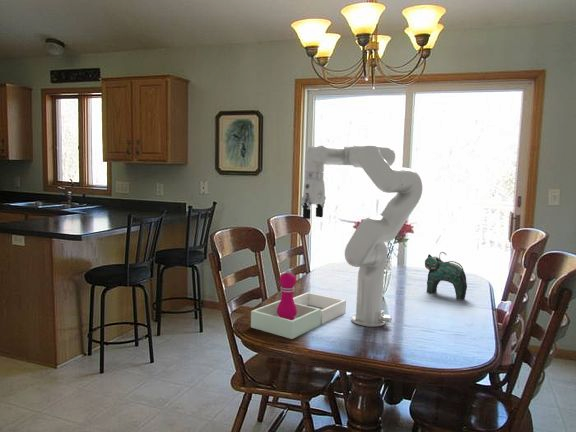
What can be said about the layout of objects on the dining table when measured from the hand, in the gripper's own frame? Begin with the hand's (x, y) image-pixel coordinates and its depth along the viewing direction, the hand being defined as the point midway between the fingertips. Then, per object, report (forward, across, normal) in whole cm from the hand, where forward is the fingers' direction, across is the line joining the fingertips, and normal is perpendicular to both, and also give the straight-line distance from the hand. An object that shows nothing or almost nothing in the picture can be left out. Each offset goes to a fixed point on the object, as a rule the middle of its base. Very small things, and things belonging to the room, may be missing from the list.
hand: (312, 217), depth 194 cm
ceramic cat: (+37, +51, -41) cm, 75 cm away
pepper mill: (+36, -30, -9) cm, 47 cm away
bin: (+36, -30, -9) cm, 48 cm away
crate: (+36, -11, -9) cm, 39 cm away
